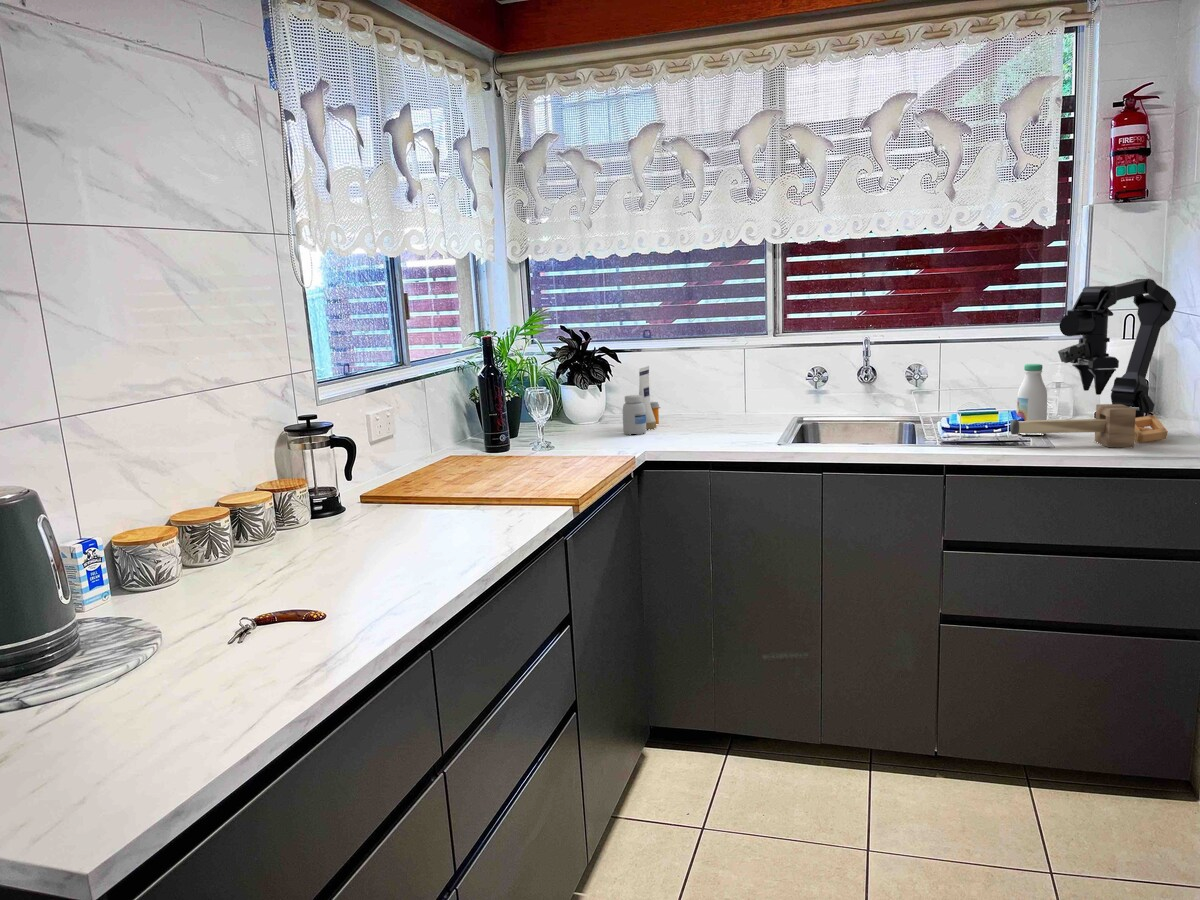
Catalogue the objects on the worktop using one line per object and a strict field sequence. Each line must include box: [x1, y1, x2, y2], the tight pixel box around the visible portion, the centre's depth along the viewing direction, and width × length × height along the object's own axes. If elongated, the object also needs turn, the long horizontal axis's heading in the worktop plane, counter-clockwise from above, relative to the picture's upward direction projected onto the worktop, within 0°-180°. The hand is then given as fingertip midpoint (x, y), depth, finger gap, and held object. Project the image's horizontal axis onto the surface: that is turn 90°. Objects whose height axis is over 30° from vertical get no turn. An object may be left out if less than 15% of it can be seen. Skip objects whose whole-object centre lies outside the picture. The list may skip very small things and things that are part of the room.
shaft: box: [1009, 418, 1106, 436], centre depth 240 cm, size 4×23×4 cm, turn 80°
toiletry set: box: [622, 365, 661, 435], centre depth 299 cm, size 25×8×21 cm, turn 159°
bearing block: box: [1094, 403, 1136, 449], centre depth 238 cm, size 10×6×10 cm, turn 170°
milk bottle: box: [1016, 363, 1048, 435], centre depth 257 cm, size 8×8×20 cm
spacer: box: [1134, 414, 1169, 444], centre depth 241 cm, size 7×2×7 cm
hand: (1092, 392), depth 244 cm, fingers open, 9 cm apart
